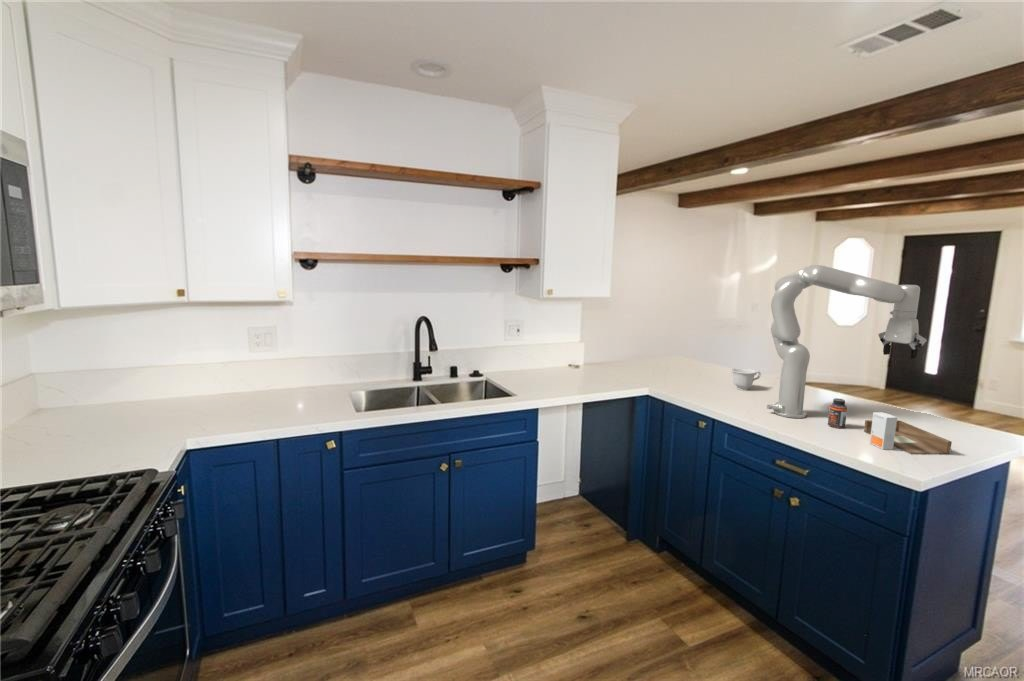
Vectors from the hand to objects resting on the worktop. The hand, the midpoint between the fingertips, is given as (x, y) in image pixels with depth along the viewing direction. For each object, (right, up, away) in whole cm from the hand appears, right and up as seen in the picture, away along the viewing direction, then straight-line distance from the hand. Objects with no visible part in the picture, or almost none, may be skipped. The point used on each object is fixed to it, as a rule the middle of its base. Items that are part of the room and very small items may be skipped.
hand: (899, 356), depth 198 cm
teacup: (-36, -19, +57) cm, 70 cm away
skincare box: (-26, -32, -24) cm, 48 cm away
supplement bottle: (-27, -29, -2) cm, 40 cm away
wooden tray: (-14, -31, -20) cm, 39 cm away
